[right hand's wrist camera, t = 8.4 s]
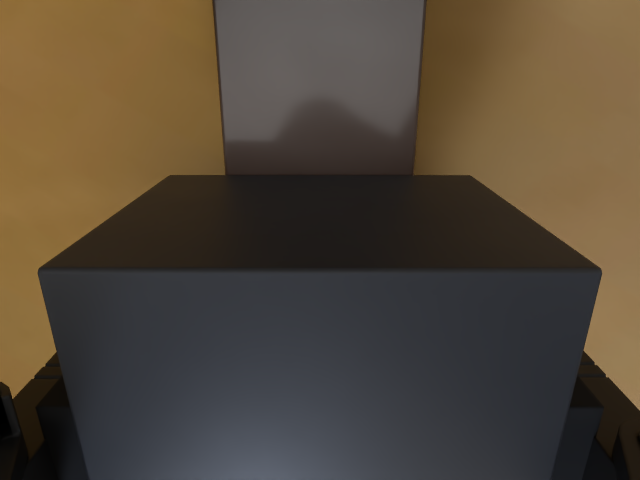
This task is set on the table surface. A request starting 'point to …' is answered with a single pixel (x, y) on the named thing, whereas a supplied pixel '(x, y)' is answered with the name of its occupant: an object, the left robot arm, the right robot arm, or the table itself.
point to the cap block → (319, 331)
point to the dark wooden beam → (319, 85)
